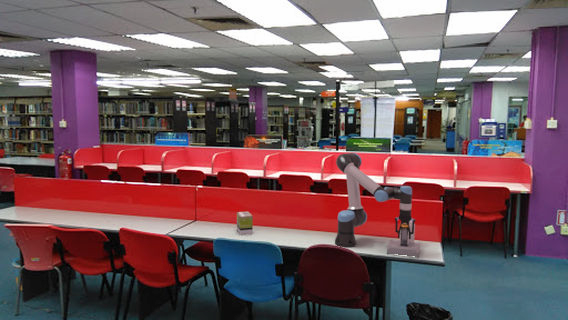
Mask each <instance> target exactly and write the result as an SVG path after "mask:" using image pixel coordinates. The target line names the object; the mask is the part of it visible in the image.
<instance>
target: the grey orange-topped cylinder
mask: <svg viewBox="0 0 568 320" xmlns="http://www.w3.org/2000/svg"><path fill="white" fill-rule="evenodd" d="M399 224H400V225H399V227H400V226H401V245H403V246H407V240H408V227H409V225H410V224H409V225H407V223H403V224H401V222H400V223H399Z"/></svg>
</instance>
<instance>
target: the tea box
mask: <svg viewBox="0 0 568 320" xmlns="http://www.w3.org/2000/svg"><path fill="white" fill-rule="evenodd" d="M253 219H254V218H253V215H252V214H251V212H249V211H239V212H237V211H236V230H237V232H238V233H239V235H240V236H244V235H252V234H253V233H254V232H253V231H254V230H253V223H254V221H253Z"/></svg>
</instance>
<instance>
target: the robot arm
mask: <svg viewBox="0 0 568 320" xmlns="http://www.w3.org/2000/svg"><path fill="white" fill-rule="evenodd" d="M362 161H363V160H362V157H361V156H360V155H359V154H357V153H356V152H348V153H341V154H339V155H338V156H337V158H336V160H335V163H336V164H335V165H336V167H337V168H338V170H339V171H341V172H342V174H344V175H346V176H345V178H346V186H347V196H348V197H347V198H348V207H347V209H346V210H345V209H344V210H341V211H340V212H338V214H337V232H336V236H335V240H334V245H336V246H338V247H341V246H342V248H352V247H351V246H353V247H356V246H357V239H356V236H355V228H358V227H361V226H362V225H364V224H365V223H366V222H367V220H368V214H367V212H366V211H365V210H364V206H362V203H361V201H362V200H361V192H360V186H362V187H363V188H364V189H366V190H367V191H368V192H370V193H371V194H372V195H373V196H374V199H375V200H376V201H377V202H379V203H382V202H387V201H391V200H399V214H398V216H396V217H394V221H395V226H394V227H395V233H397V238H398V239H399V240H398V241H399V243H401V233H400V231H401V226H400V225H398V221H399V220H400V223H401V224H403V223H407V225H409V222H410V220H412V232H411V231H410V226H409V227H408V232H409V234H408V240H407V244H409V239H411V234H414V223H415V222H416V219H415V218H413V217H412V205H413V204H412V203H413V202H412V200H413V188H412V187H411V186H409V185H401V186H400V188H398V187H390V186H385V187H382V186H381V185H379V183H378V182H376V181H375V180H373V179H372V178H371V177H369V176H368V175H367V174H365V172H363V171H362V170H361V169H360V168H361V165H362ZM398 226H399V229H398ZM355 245H356V246H355Z"/></svg>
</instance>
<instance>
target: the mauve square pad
mask: <svg viewBox="0 0 568 320" xmlns="http://www.w3.org/2000/svg"><path fill="white" fill-rule="evenodd" d="M399 241H400V240H393V239H390V240H389V242H388V245H387V247H386V254H387V253H388V254H387V255H389V254H398V255H407V256H415V257H419V258H420V251H419V250H420V248H421V246H420V245H421V243H419V242H414V243H411V242H409V244H407V246H403V245H401V243H399Z"/></svg>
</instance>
